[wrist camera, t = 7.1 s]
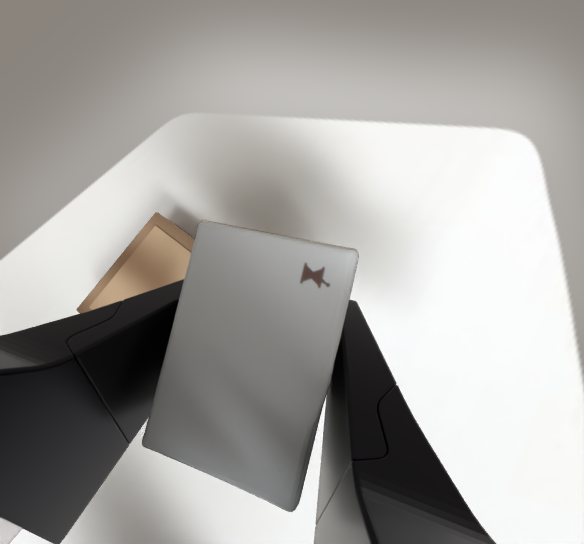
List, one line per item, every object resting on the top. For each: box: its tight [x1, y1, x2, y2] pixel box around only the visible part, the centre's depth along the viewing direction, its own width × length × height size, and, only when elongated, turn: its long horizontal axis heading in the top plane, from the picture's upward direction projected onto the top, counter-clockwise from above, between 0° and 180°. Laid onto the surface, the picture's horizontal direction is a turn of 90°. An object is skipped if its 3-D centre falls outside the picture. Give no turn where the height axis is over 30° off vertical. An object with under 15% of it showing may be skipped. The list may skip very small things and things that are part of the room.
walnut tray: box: [77, 212, 195, 314], centre depth 22 cm, size 11×11×3 cm
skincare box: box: [142, 221, 359, 512], centre depth 12 cm, size 6×4×12 cm
